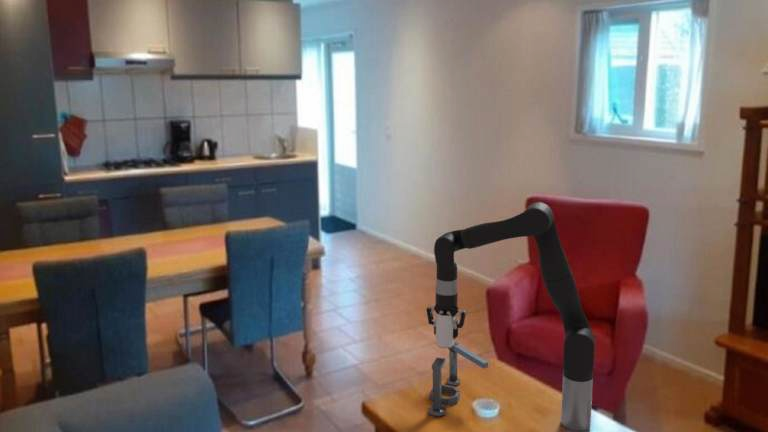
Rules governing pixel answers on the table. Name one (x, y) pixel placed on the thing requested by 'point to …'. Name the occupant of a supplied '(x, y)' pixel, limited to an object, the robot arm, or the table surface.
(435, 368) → the dark grey piece
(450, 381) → the pivot post
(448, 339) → the can
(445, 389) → the collar
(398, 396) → the table surface
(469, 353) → the swing arm
